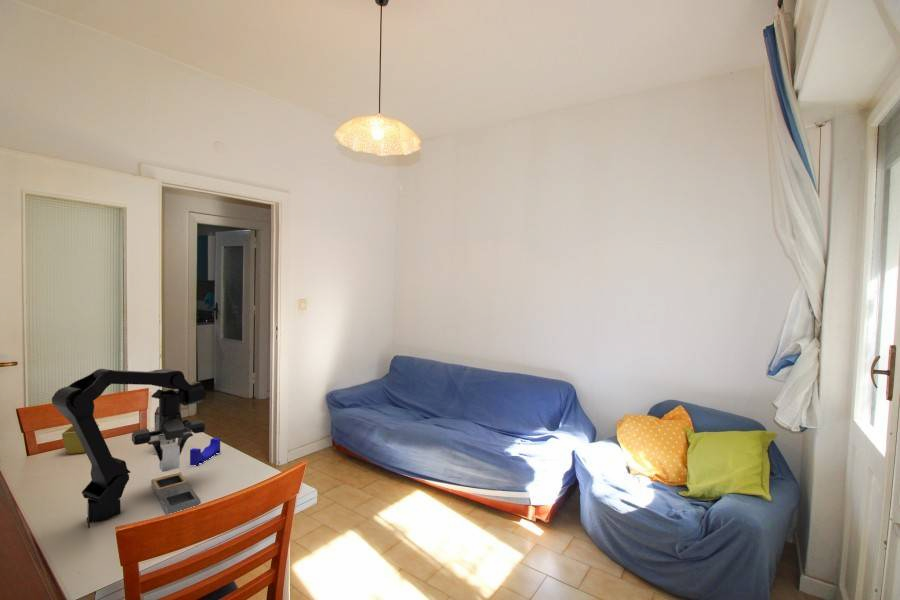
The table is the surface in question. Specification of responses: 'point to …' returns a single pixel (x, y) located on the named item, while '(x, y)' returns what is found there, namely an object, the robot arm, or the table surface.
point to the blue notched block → (204, 452)
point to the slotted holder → (174, 493)
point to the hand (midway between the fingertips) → (169, 458)
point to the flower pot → (72, 441)
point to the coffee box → (161, 438)
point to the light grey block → (170, 457)
